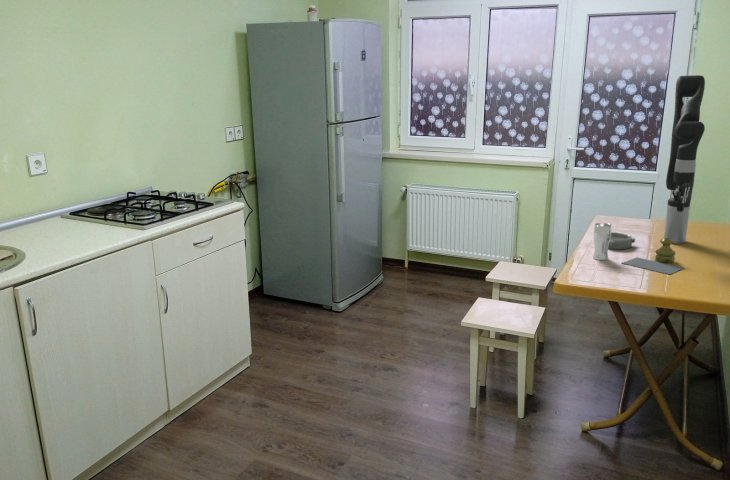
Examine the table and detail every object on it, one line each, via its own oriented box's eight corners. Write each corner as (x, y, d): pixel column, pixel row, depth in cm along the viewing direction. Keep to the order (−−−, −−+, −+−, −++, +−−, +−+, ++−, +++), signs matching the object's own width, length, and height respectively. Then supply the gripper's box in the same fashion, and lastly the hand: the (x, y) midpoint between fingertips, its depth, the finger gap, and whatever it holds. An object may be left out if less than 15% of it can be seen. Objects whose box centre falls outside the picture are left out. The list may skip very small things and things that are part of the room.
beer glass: (596, 255, 259) (598, 222, 255) (611, 258, 254) (614, 224, 250) (589, 258, 254) (591, 224, 250) (604, 261, 249) (607, 227, 245)
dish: (613, 251, 264) (613, 241, 262) (593, 244, 277) (594, 233, 275) (640, 248, 267) (641, 237, 266) (619, 241, 280) (620, 230, 279)
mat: (636, 258, 253) (636, 257, 253) (684, 268, 237) (684, 267, 237) (621, 263, 246) (621, 262, 246) (669, 274, 230) (669, 274, 230)
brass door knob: (665, 264, 243) (668, 241, 240) (650, 260, 249) (653, 237, 247) (678, 262, 246) (681, 239, 243) (663, 257, 252) (665, 235, 250)
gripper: (683, 168, 250) (678, 207, 254) (667, 171, 242) (663, 212, 247) (701, 169, 244) (696, 210, 248) (686, 173, 236) (681, 215, 241)
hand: (680, 211), depth 247 cm, fingers closed
